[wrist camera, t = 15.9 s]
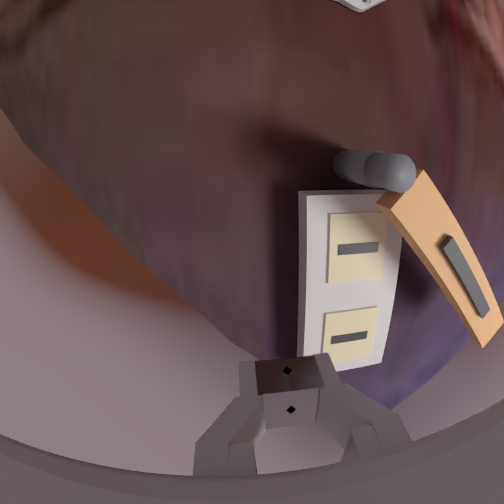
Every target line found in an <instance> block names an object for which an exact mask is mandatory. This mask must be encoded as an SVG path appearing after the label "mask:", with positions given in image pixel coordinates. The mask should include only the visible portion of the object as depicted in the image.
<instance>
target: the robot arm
mask: <svg viewBox="0 0 504 504" xmlns="http://www.w3.org/2000/svg"><path fill="white" fill-rule="evenodd" d="M334 1H337V2H339V3H341V4H343V5H345V6H346V7H348V8H350V9H352V10H354V11H356V12H363V11H365V10H367V9H369V8H371V7H373V6H375V5H377V4H379V3H381V2H383V1H385V0H363V1H365V2H363V1H362V0H334ZM239 381H240V397H235V398H234V399H233V401H232V402H231V403H230V404H229V405H228V406H227V408H226V409H225V410H224V411H223V412H222V413H221V415H220V416H219V417H218V418H217V419H216V420H215V422H214V423H213V424H212V425H211V426H210V427H209V428H208V430H207V431H206V432H205V433H204V434H203V435H202V436H201V437H200V439H199V440H198V441H197V442H196V445H195V456H194V468H193V476H182V475H168V474H156V473H146V472H139V471H131V470H124V469H118V468H113V467H107V466H102V465H97V464H92V463H88V462H84V461H79V460H75V459H71V458H68V457H64V456H60V455H57V454H53V453H50V452H47V451H44V450H41V449H38V448H35V447H32V446H29V445H26V444H24V443H21V442H18V441H16V440H13V439H10V438H8V437H5V436H3V435H1V434H0V504H504V399H502V400H500V401H499V402H497V403H495V404H494V405H492V406H490V407H488V408H486V409H485V410H483V411H481V412H479V413H477V414H475V415H473V416H471V417H469V418H467V419H465V420H463V421H461V422H458V423H456V424H454V425H452V426H450V427H447V428H445V429H443V430H441V431H438V432H436V433H434V434H431V435H428V436H426V437H423V438H421V439H418V440H415V441H413V442H412V440H411V438H410V436H409V434H408V432H407V430H406V428H405V426H404V424H403V422H402V420H401V418H400V416H399V414H397V413H395V412H393V411H392V410H390V409H388V408H387V407H385V406H383V405H381V404H380V403H378V402H376V401H374V400H373V399H371V398H369V397H368V396H366V395H364V394H363V393H361V392H359V391H357V390H356V389H354V388H352V387H351V386H349V385H348V384H346V383H345V384H341V382H340V379H339V377H338V375H337V372H336V370H335V367H334V365H333V363H332V360H331V358H330V355H329V354H328V353H327V352H326V353H320V354H313V355H308V356H301V357H293V358H285V359H273V360H259V361H255V362H254V361H249V362H248V361H247V362H240V363H239ZM309 423H316V425H318V426H319V427H320V428H321V429H322V430H323V431H324V432H325V433H326V434H327V435H329V436H330V437H331V438H332V439H333V440H334V441H335V442H336V443H338V444H339V445H340V446H341V447H342V448H343V449H345V451H344V454H343V456H342V459H341V462H340V463H336V464H330V465H326V466H320V467H314V468H308V469H302V470H296V471H288V472H280V473H270V474H259V475H257V467H256V460H255V451H254V449H255V447H256V446H257V444H258V442H259V441H260V439H261V437H262V435H263V434H264V432H265V429H270V428H278V427H285V426H290V425H291V426H293V425H301V424H309Z"/></svg>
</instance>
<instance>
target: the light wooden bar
mask: <svg viewBox="0 0 504 504" xmlns="http://www.w3.org/2000/svg"><path fill="white" fill-rule="evenodd" d="M364 174H365V177H366V179H367V180H368V182H369V183H370V184H372V185H374V186H377V187H380V188H384V189H387V190H386V192H385V193H384V194H383V195H382V196H381V197H380V198H379V200H378V201H377V202H376V203H375V204H376V205H377V206H378V207H379V208H380V209H381V211H382V212H383V213H384V214H385V215H386V217H387V218H388V219H389V220H390V221H391V223H392V224H393V225H394V226H395V228H396V229H397V230H398V231H399V233H400V234H401V235H402V236H403V238H404V239H405V240H406V241H407V243H408V244H409V245H410V247H411V248H412V249H413V251H414V252H415V253H416V255H417V256H418V257H419V259H420V260H421V261H422V263H423V264H424V265H425V267H426V268H427V270H428V271H429V272H430V274H431V275H432V277H433V278H434V279H435V281H436V282H437V284H438V285H439V287H440V288H441V290H442V291H443V293H444V294H445V296H446V297H447V299H448V300H449V302H450V303H451V305H452V306H453V308H454V309H455V311H456V313H457V314H458V316H459V317H460V319H461V321H462V322H463V324H464V326H465V327H466V329H467V331H468V332H469V334H470V336H471V337H472V338H473V339H474V340H475V341H476V342H477V343H478V344H479V345H480V346H481V347H482V348H483V347H484V346H485V345H486V344H487V343H488V341H489V340H490V339H491V338H492V337H493V335H494V334H495V333H496V331H497V330H498V329H499V328H500V327H501V325H502V324H503V323H504V320H503V318H502V315H501V313H500V310H499V307H498V305H497V302H496V300H495V297H494V295H493V292H492V290H491V288H490V286H489V283H488V281H487V279H486V277H485V274H484V272H483V270H482V268H481V266H480V264H479V262H478V260H477V258H476V256H475V254H474V252H473V250H472V248H471V246H470V244H469V242H468V240H467V239H466V237H465V235H464V233H463V231H462V229H461V228H460V226H459V224H458V222H457V221H456V219H455V217H454V216H453V214H452V212H451V211H450V209H449V207H448V206H447V204H446V202H445V201H444V199H443V198H442V196H441V195H440V193H439V192H438V190H437V188H436V187H435V185H434V184H433V183H432V181H431V180H430V178H429V177H428V175H427V174H426V172H425V171H424V170H422V169H416V168H415V165H414V163H413V161H412V160H411V159H410V158H409V157H408V156H406V155H404V154H393V153H374V154H372V155H370V156H369V157H368V158H367V160H366V161H365V164H364Z"/></svg>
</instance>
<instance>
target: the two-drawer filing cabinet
mask: <svg viewBox="0 0 504 504" xmlns="http://www.w3.org/2000/svg"><path fill="white" fill-rule="evenodd" d="M374 153H383V152H381V151H367V150H343V151H340V152H338V153H337V154H336V155H335V156H334V158H333V161H332V168H333V171H334V173H335V174H336V176H337V177H339V178H340V179H343V180H347V181H351V182H354V183H358V184H361V185H365V186H368V187H372V188H377V189H378V188H380V187H377V186H374V185H372V184H370V183H369V182H368V180H367V179H366V177H365V174H364V164H365V161H366V160H367V158H368V157H369V156H370V155H372V154H374ZM385 192H386V190H312V191H298V207H299V295H298V335H297V357H301V356H308V355H313V354H320V353H326V352H327V353H328V354H329V355H330V358H331V360H332V363H333V365H334V367H335V370H336V371H342V370H347V369H353V368H358V367H363V366H368V365H373V364H377V363H381V360H382V356H383V352H384V348H385V343H386V339H387V334H388V329H389V324H390V319H391V314H392V308H393V303H394V297H395V290H396V284H397V277H398V269H399V261H400V253H401V243H402V235H401V234H400V233H399V231H398V230H397V229H396V228H395V226H394V225H393V224H392V223H391V221H390V220H389V219H388V218H387V217H386V215H385V214H384V213H383V212H382V211H381V209H380V208H379V207H378V206H377V205H376V204H375V203H376V202H377V201H378V200H379V198H380V197H381V196H382V195H383V194H384V193H385Z"/></svg>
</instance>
